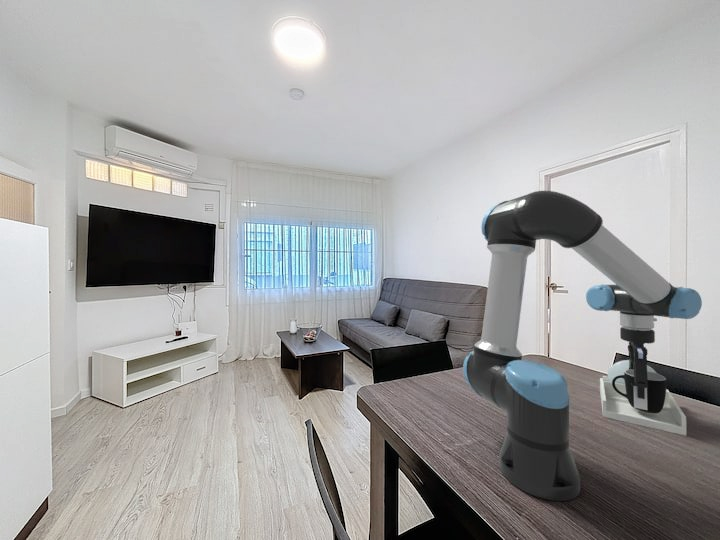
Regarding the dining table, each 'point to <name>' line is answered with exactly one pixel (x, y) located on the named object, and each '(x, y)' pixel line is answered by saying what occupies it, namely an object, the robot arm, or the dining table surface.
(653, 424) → the dish rack
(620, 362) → the plate in rack
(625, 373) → the mug
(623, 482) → the dining table surface
